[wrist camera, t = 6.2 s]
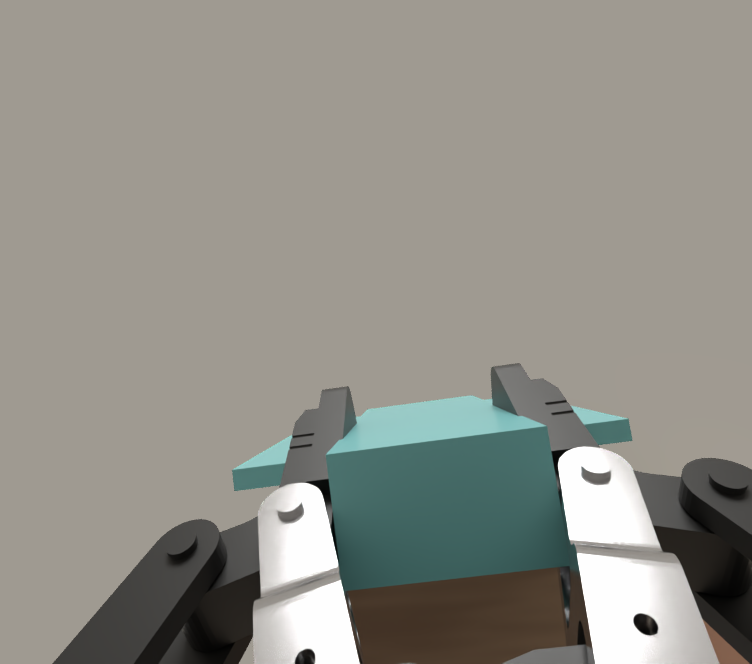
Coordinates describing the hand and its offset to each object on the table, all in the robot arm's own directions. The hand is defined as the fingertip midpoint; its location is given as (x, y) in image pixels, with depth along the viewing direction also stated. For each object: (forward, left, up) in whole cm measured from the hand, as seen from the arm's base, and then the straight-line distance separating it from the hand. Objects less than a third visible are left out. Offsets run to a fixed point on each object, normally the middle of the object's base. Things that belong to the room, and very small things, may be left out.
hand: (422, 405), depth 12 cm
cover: (-5, -5, -3) cm, 8 cm away
